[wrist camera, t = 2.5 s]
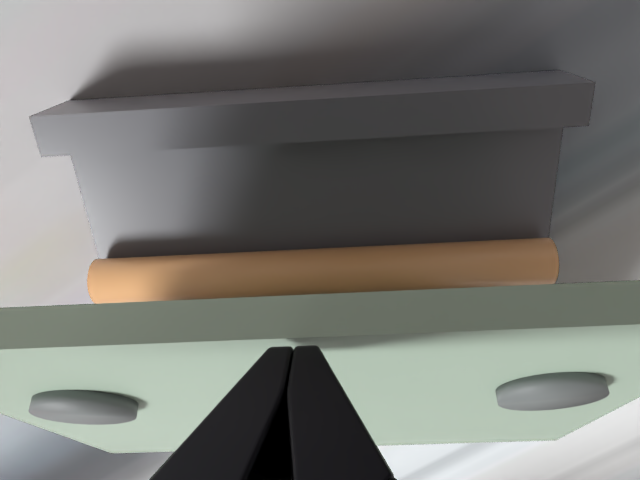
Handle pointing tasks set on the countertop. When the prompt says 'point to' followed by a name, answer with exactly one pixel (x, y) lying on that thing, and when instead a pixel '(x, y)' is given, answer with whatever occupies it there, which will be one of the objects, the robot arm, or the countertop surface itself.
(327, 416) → the robot arm
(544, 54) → the countertop surface
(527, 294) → the cover
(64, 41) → the countertop surface
